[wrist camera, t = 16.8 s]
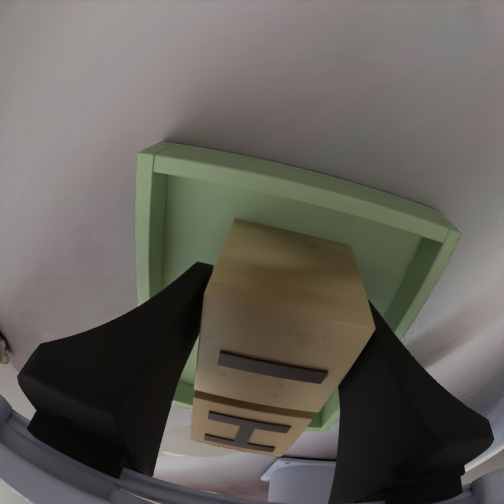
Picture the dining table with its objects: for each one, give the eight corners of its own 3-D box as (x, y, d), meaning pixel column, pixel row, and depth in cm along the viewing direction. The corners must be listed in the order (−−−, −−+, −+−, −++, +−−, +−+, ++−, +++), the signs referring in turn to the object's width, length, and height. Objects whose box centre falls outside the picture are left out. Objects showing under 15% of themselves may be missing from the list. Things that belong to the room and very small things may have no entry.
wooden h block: (312, 336, 14) (313, 421, 10) (286, 387, 16) (281, 459, 12) (217, 316, 14) (192, 399, 10) (208, 371, 16) (189, 441, 12)
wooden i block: (351, 245, 11) (377, 331, 7) (315, 328, 13) (318, 415, 9) (235, 217, 11) (202, 295, 7) (219, 308, 13) (193, 392, 9)
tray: (440, 210, 10) (462, 233, 9) (326, 407, 18) (326, 432, 16) (161, 141, 10) (137, 152, 9) (157, 372, 18) (148, 396, 16)
